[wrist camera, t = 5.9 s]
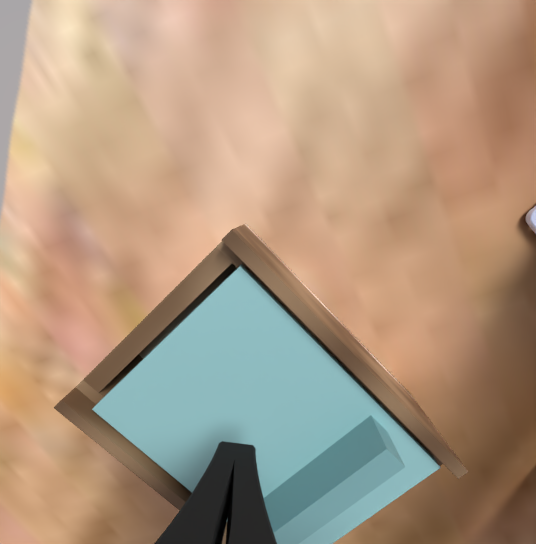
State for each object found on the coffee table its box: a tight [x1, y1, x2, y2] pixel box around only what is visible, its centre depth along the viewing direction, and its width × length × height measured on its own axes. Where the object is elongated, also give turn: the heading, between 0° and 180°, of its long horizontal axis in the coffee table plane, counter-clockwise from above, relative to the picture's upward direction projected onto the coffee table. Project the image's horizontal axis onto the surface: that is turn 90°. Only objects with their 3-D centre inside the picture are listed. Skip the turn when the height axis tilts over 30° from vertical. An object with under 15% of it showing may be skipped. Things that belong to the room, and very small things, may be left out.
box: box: [54, 224, 468, 544], centre depth 17 cm, size 16×12×6 cm
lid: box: [92, 264, 441, 544], centre depth 13 cm, size 14×10×3 cm
